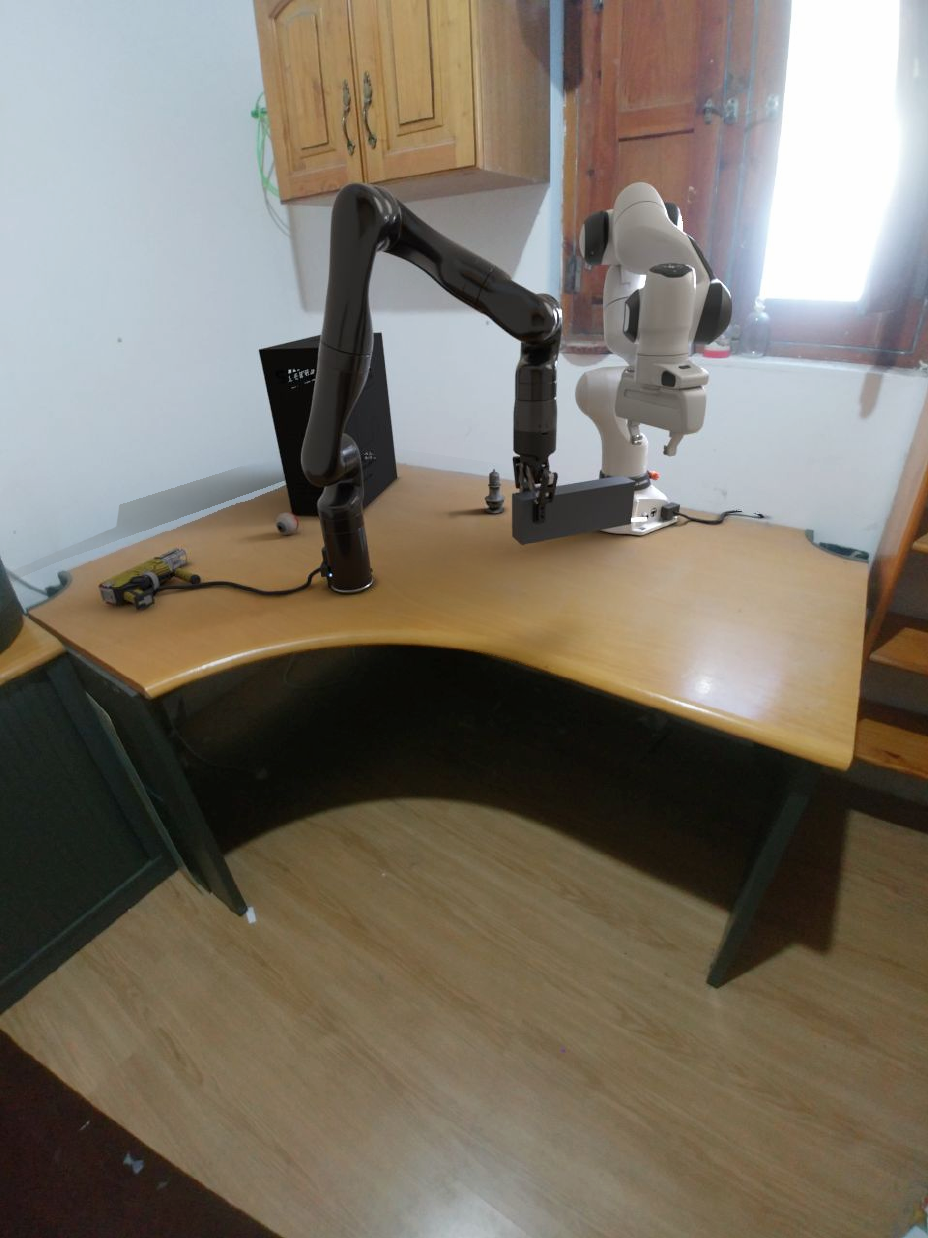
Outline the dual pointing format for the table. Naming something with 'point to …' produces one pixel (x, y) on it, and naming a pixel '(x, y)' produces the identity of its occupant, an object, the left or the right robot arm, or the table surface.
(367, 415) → the cardboard box
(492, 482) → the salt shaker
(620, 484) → the bar
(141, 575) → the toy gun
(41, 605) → the table surface
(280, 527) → the eyeball
